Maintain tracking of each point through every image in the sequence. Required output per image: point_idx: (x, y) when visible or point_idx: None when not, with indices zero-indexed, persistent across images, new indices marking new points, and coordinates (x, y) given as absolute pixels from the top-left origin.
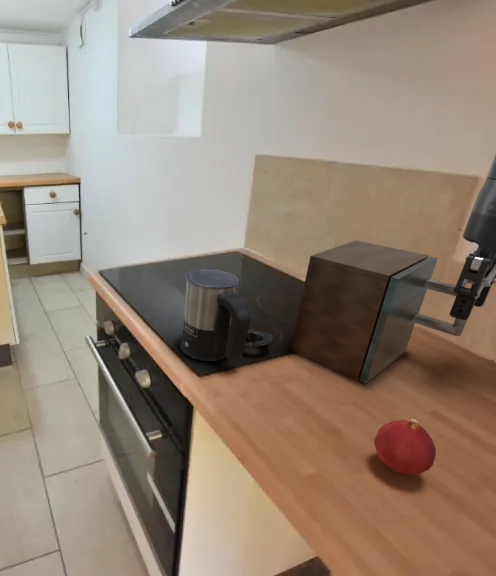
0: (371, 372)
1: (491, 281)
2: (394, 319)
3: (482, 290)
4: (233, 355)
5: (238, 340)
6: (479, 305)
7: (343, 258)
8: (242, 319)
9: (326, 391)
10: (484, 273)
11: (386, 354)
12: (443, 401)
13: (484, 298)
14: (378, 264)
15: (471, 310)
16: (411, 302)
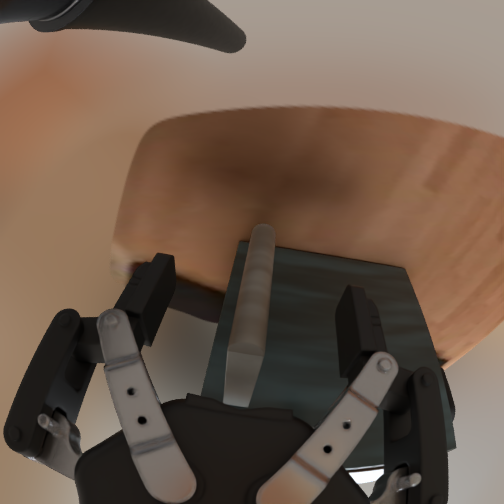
0: (401, 279)
1: (134, 337)
2: (395, 357)
3: (152, 309)
4: (444, 372)
5: (448, 387)
6: (172, 260)
7: (361, 480)
8: (453, 409)
9: (438, 294)
10: (443, 460)
11: (361, 285)
12: (389, 174)
13: (161, 277)
14: (373, 474)
15: (359, 309)
16: (317, 369)
